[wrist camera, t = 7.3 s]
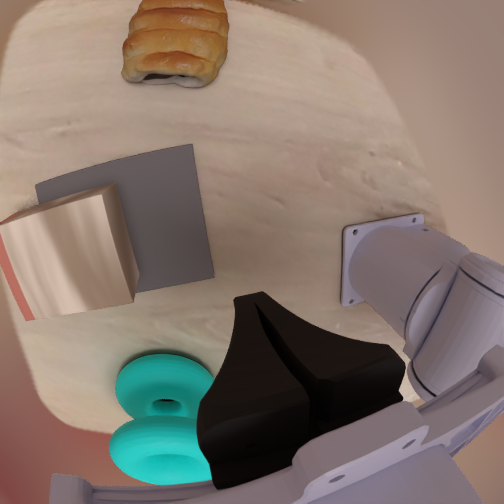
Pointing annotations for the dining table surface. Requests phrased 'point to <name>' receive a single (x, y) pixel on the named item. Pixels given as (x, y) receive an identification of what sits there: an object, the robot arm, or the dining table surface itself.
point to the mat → (152, 212)
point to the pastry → (176, 42)
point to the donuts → (161, 420)
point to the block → (69, 255)
